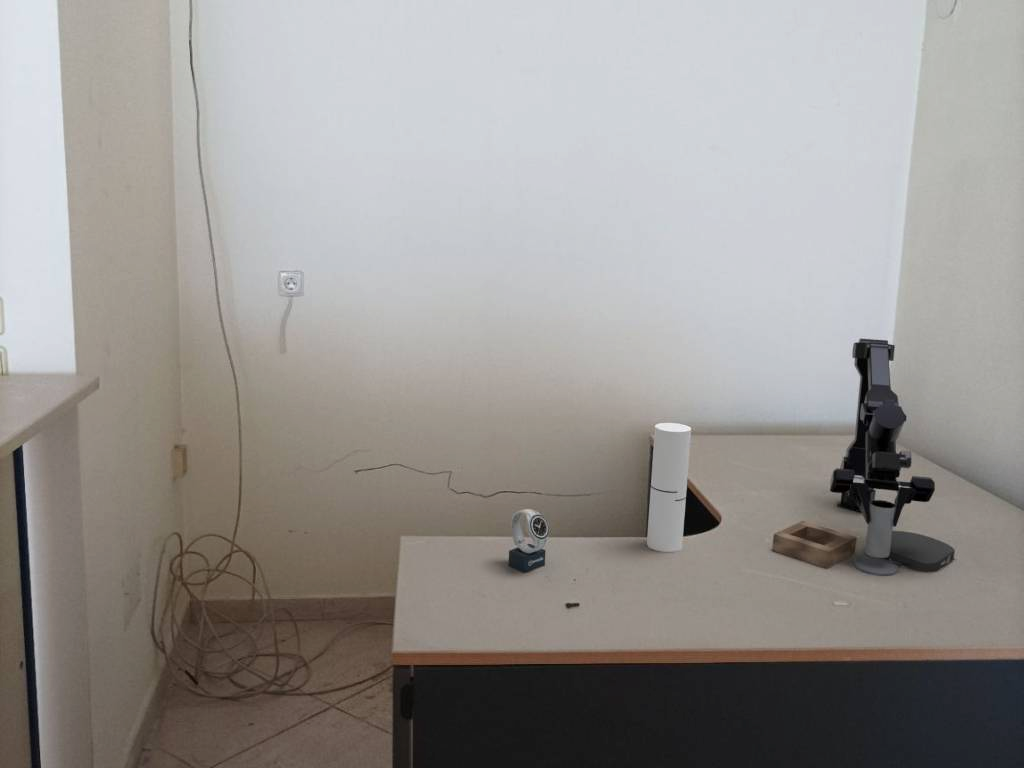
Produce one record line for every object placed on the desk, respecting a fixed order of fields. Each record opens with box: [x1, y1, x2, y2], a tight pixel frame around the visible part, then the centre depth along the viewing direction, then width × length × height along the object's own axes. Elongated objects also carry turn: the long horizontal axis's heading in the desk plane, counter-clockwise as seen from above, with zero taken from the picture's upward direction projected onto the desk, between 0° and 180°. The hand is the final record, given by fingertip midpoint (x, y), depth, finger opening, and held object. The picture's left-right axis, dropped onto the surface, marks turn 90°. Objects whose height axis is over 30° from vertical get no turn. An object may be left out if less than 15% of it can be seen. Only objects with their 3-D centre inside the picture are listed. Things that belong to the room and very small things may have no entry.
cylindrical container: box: [646, 422, 692, 553], centre depth 187 cm, size 7×7×25 cm
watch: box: [508, 508, 550, 574], centre depth 176 cm, size 6×8×11 cm
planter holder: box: [771, 520, 858, 569], centre depth 188 cm, size 12×12×4 cm
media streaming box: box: [871, 530, 956, 573], centre depth 189 cm, size 15×15×3 cm
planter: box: [864, 499, 895, 558], centre depth 180 cm, size 4×4×10 cm
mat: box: [853, 555, 898, 577], centre depth 182 cm, size 8×8×1 cm
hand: (881, 524), depth 179 cm, fingers closed on planter, 4 cm apart
